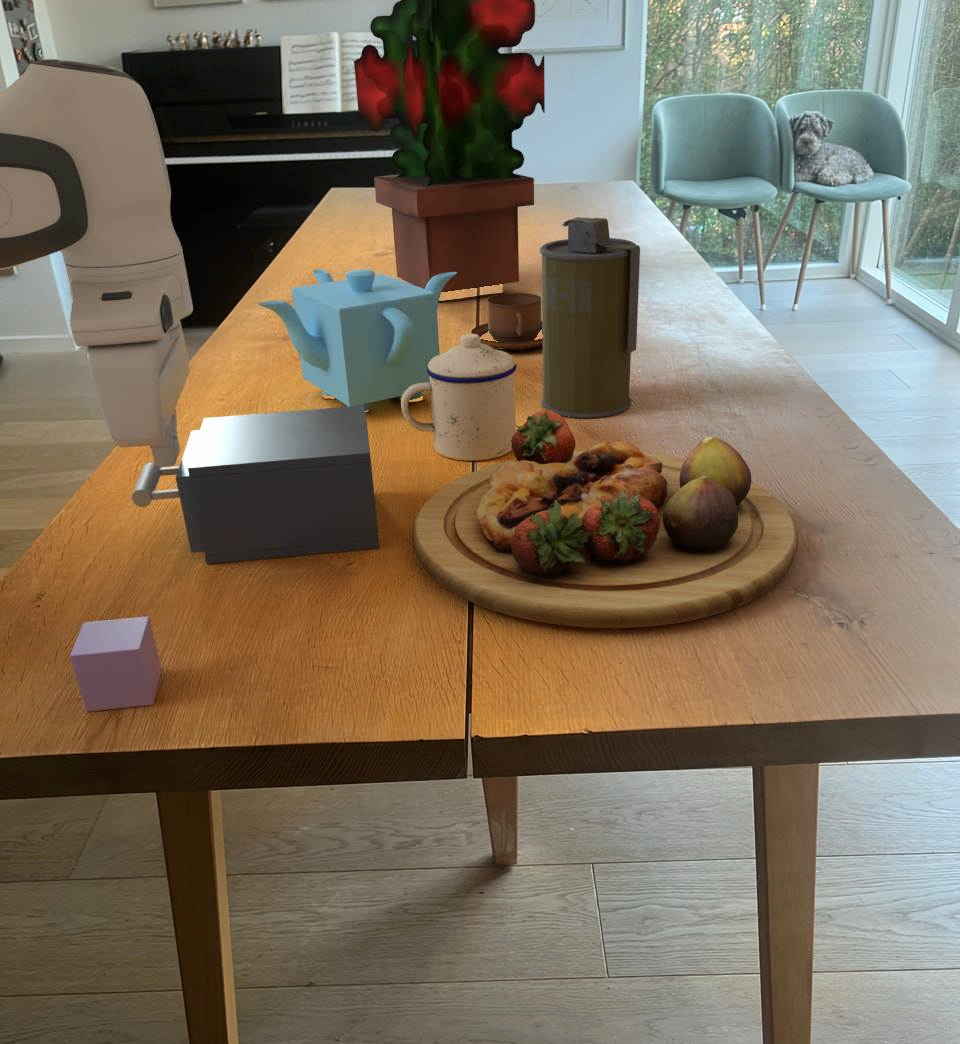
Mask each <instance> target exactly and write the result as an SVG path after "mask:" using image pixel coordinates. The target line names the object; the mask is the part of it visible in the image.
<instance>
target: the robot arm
mask: <svg viewBox="0 0 960 1044" xmlns="http://www.w3.org/2000/svg"><path fill="white" fill-rule="evenodd" d="M151 107H152V106H151V103H150V102H149V99H148V96H147V95H146V93H145V91H144V89H143V87H142V86H141V85H140V84H139V83H138V82H137V81H136V80H135V79H134V78H133V77H132V76H130V75H129V74H128V73H126V72H124V71H122V70H121V69H118V68H116V67H113V66H111V67H110V66H106V65H101V64H95V63H88V62H81V61H80V62H79V61H73V60H64V59H63V60H60V59H57V58H43V59H38V60H36V61H32V62H31V63H30V64H29V65H28V66H27V68H26V70H25V71H24V72H23V73H22V74H21V75H20V76H19V77H18V78H17V79H16V80H15V81H14V82H13V83H11V84H10V85H9V86H8V87H6V88H5V89H4V90H2V91H1V92H0V270H6V269H12V268H15V267H19V266H21V265H23V264H25V263H28V262H31V261H35V260H37V259H41V258H44V257H47V256H49V255H53V254H55V253H58V252H60V253H61V255H62V259H63V262H64V266H65V270H66V274H67V278H68V283H69V290H70V296H71V300H72V302H71V309H70V310H71V311H70V316H69V326H70V332H71V335H72V339H73V342H74V344H75V345H76V346H77V347H86V348H85V349H86V350H85V352H86V353H85V357H86V363H87V367H88V371H89V375H90V379H91V382H92V386H93V389H94V392H95V396H96V398H97V402H98V406H99V409H100V412H101V414H102V416H103V420H104V423H105V426H106V429H107V431H108V434H109V436H110V437H111V439H112V441H113V442H114V443H115V445H116V446H117V447H119V448H136V447H137V448H139V447H147V446H148V447H149V448H150V450H151V454H152V459H153V463H155V465H156V466H158V467H160V468H163V467H175V466H176V463H177V461H178V457H179V454H180V452H181V447H180V443H179V436H178V422H177V421H178V419H177V418H178V417H177V409H176V408H177V405H178V403H179V400H180V398H181V395H182V393H183V392H184V391H183V390H184V388H185V387H186V386H185V385H186V383H187V380H188V378H189V375H190V359H189V353H188V349H187V345H186V341H185V340H186V339H185V335H184V331H183V326H182V321H181V320H183V319H185V318H187V317H188V316H190V315H191V314H192V313H193V311H194V306H193V300H192V294H191V290H190V285H189V279H188V273H187V268H186V263H185V258H184V252H183V246H182V244H181V241H180V239H179V237H178V235H177V233H176V229H175V228H174V225H173V221H172V215H171V199H172V189H171V183H170V178H169V173H168V172H169V171H168V168H167V163H166V158H165V152H164V149H163V145H162V140H161V137H160V133H159V130H158V125H157V123H156V119H155V115H154V113H153V109H152V108H151Z"/></svg>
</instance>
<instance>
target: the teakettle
mask: <svg viewBox="0 0 960 1044" xmlns="http://www.w3.org/2000/svg"><path fill="white" fill-rule="evenodd" d="M312 272H313V275H314V276H315V279H316V280H317V283H314V284H309V285H302V286H296V287H292V288H291V297H292V305H293V306H292V305H291V304H289V302H287V301H284V300H269V301H263V302H259V303H257V305H258V306H261V307H263V308H266V309H269V310H271V311H272V312H274V313H275V314H276V315H277V316H278V317H279V318H280V320H281V321H282V322H283V324H284V326H285V328H286V331H287V333H288V336H289V338H290V341H291V343H292V345H293V347H294V350H295V351H296V352H297V354H298V355H299V357H300V365H301V372H302V379H304V380H305V381H307V382H309V383H310V384H311V385H313V386H315V387H317V388H318V389H320V390H322V391H323V392H322V394H324V395H325V396H332V397H334V398H336V399H335V400H337V401H339V402H341V403H343V405H346V406H345V407H350V406H362V405H365V411H367V410H369V409H370V410H371V403H374V402H378V401H383V400H388V399H389V400H390V399H393V398H398V399H399V398H402V395H403V393H404V392H405V391H406V390H407V389H408V388H409V387H410V386H412V385H414V384H418V383H427V382H430V376H429V375H428V373H427V367H428V364H429V362H430V360H431V359H432V358H434V357H435V356H437V355H439V354H441V353H440V352H441V351H440V338H439V337H440V336H439V335H440V334H439V321H438V308H439V303H440V302H439V297H440V294H441V291H442V289H443V287H444V285H445V284H446V282H447V281H449V280H450V279H451V278H452V277H453V276H454V275H456V273H457V272H448V273H442V274H438V275H435V276H434V277H432V278H431V280H430V281H429V282H428V284H427V286H426V288H425V289H423V288H420V287H417V286H414V285H412V284H410V283H408V282H406V281H404V280H400V279H398V278H395V277H391V276H389V275H386V274H383V273H379V274H376V271H374V270H372V269H364V268H363V269H354V270H349V271H347V272H345V278H346V279H341V280H334V279H333V277H332V275H331V274H330V273H329V271H327V270H325V269H313V270H312ZM421 396H423V394H422V392H418V393H415V394H414V395H413V396H412V397H411V398H410V399H409V400H413V399H417V398H420V397H421Z"/></svg>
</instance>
